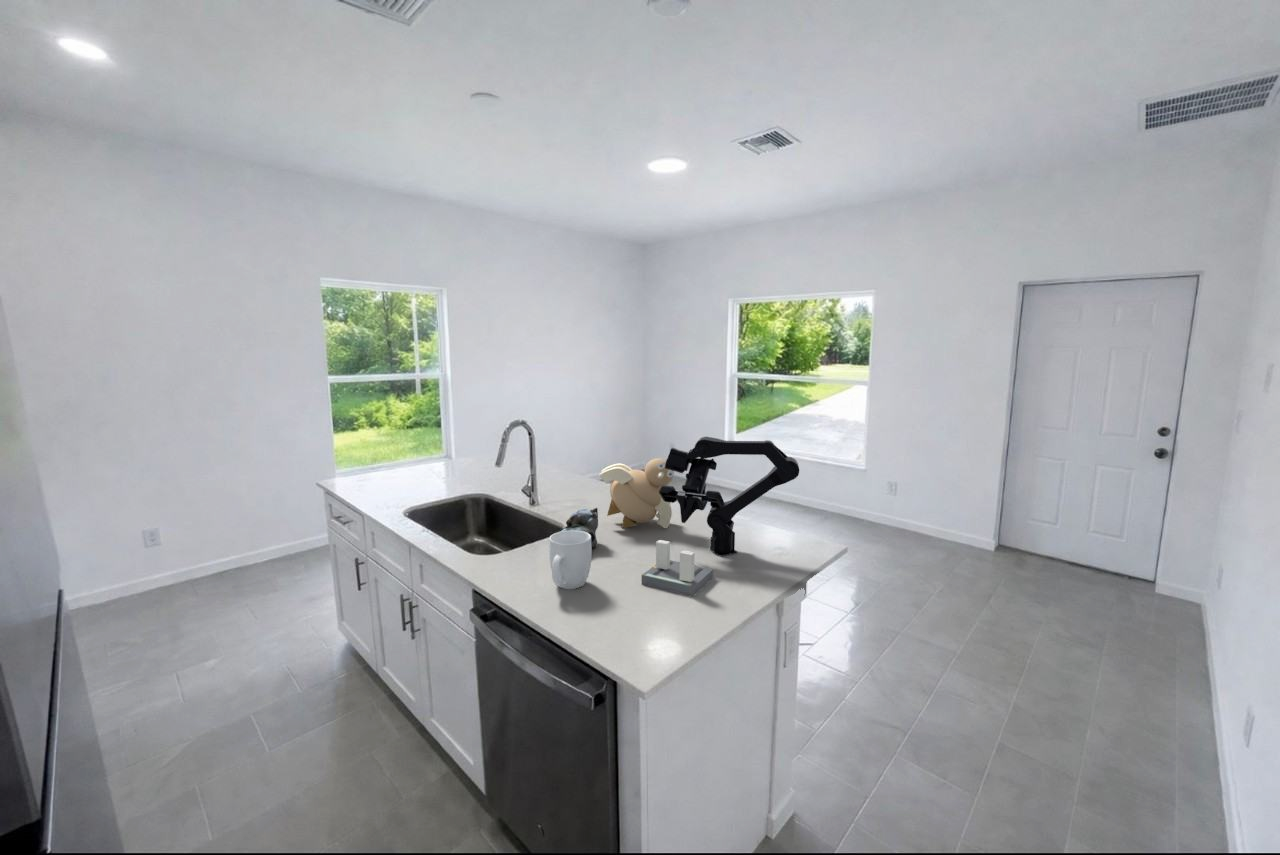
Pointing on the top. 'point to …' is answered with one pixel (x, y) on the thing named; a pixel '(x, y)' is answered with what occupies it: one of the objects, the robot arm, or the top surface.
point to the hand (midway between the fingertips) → (683, 522)
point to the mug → (570, 558)
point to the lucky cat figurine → (584, 523)
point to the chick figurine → (639, 492)
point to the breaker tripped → (662, 554)
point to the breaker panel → (677, 579)
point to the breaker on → (687, 566)
